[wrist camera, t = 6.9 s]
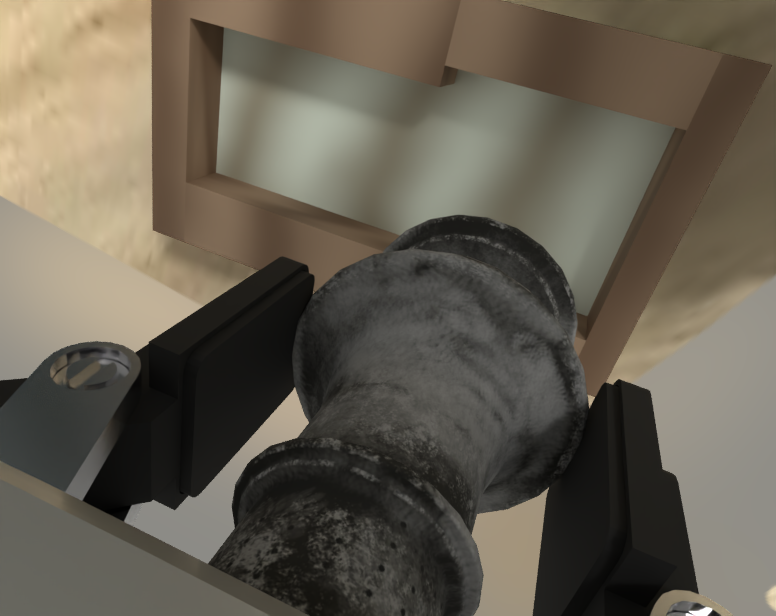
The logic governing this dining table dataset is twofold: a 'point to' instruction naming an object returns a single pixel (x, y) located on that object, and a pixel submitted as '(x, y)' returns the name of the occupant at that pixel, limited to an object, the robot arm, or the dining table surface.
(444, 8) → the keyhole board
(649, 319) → the dining table surface
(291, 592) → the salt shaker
